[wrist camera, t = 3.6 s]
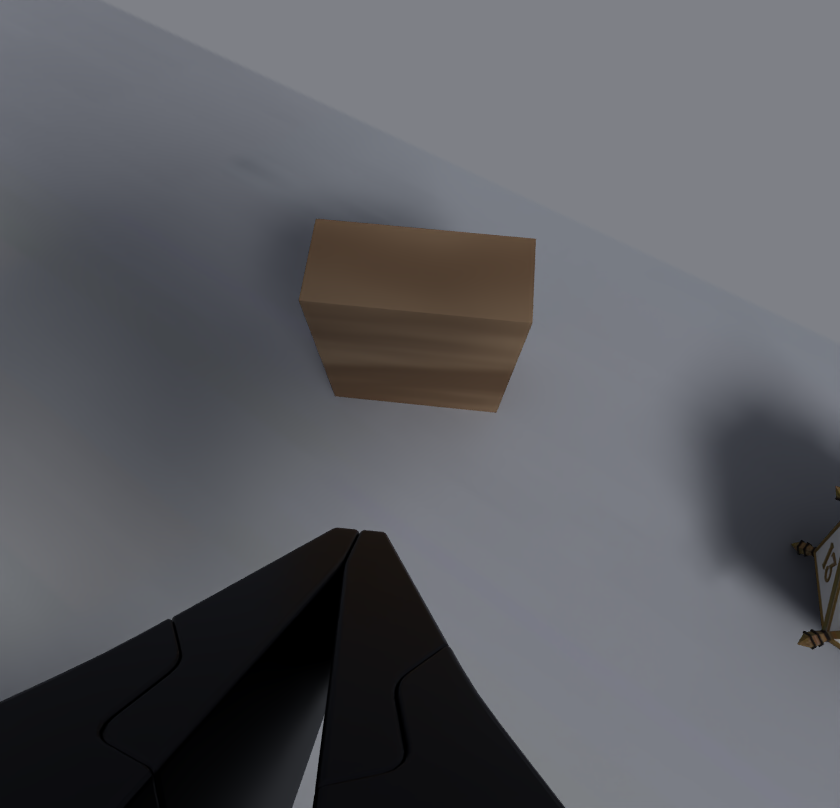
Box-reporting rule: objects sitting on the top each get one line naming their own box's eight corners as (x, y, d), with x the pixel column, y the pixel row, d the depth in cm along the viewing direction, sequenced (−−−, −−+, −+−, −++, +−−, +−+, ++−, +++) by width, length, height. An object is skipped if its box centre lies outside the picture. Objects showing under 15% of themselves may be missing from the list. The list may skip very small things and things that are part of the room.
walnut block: (496, 412, 24) (532, 323, 16) (335, 396, 24) (298, 300, 17) (500, 349, 25) (535, 237, 18) (345, 333, 25) (316, 217, 18)
